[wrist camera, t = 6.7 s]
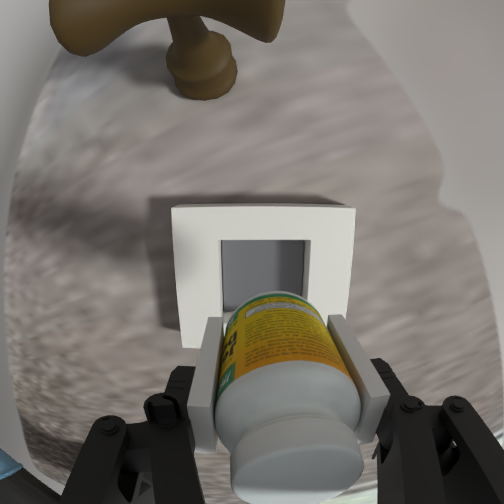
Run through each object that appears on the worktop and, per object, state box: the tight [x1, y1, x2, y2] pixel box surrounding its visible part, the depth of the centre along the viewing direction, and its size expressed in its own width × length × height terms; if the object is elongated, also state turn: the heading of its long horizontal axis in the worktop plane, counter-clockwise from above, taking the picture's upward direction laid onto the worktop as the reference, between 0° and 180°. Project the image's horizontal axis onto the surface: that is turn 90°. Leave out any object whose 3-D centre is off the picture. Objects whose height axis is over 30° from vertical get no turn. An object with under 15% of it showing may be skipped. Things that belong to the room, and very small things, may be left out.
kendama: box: [49, 0, 285, 101], centre depth 12 cm, size 6×10×20 cm, turn 89°
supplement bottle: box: [215, 291, 364, 504], centre depth 11 cm, size 5×5×10 cm
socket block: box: [171, 203, 356, 348], centre depth 25 cm, size 14×12×2 cm
